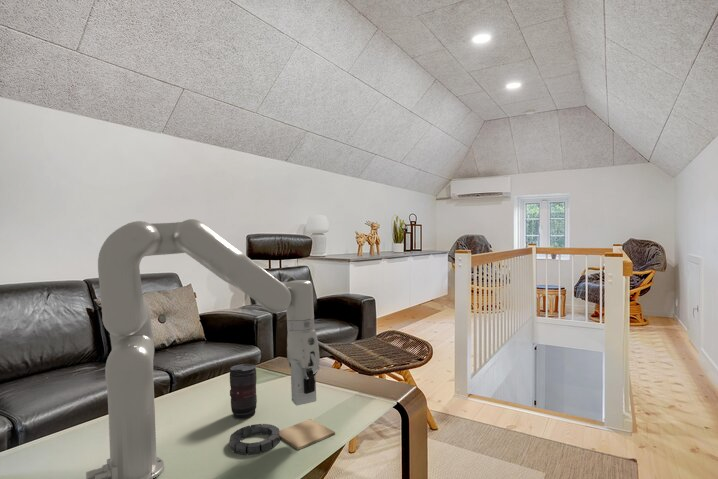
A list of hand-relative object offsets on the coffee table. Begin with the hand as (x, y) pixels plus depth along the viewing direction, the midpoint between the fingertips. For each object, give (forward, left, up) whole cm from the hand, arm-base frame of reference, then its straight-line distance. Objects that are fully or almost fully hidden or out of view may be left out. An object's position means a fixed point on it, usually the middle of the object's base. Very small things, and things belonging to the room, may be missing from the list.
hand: (303, 389), depth 114 cm
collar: (-12, +6, -13) cm, 19 cm away
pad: (0, 0, -13) cm, 13 cm away
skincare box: (0, 0, -4) cm, 4 cm away
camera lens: (-6, +25, -13) cm, 29 cm away
